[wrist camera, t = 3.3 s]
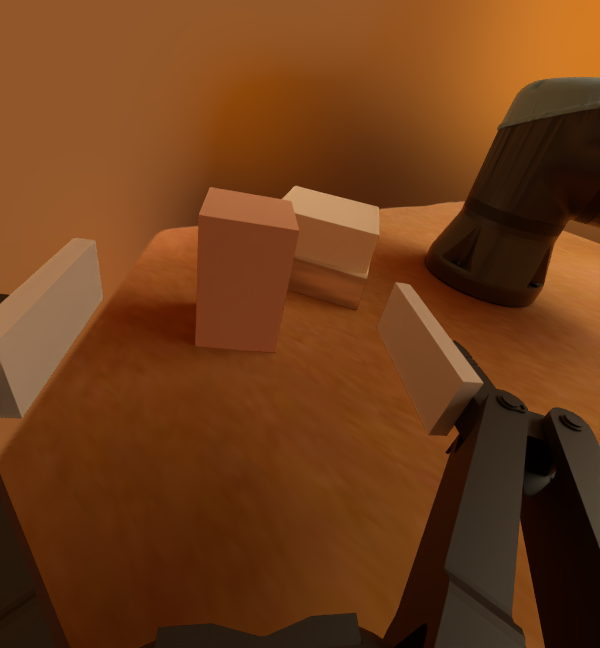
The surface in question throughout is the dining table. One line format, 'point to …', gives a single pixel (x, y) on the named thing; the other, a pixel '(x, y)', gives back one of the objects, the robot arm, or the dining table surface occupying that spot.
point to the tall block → (243, 269)
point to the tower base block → (327, 282)
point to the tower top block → (334, 229)
